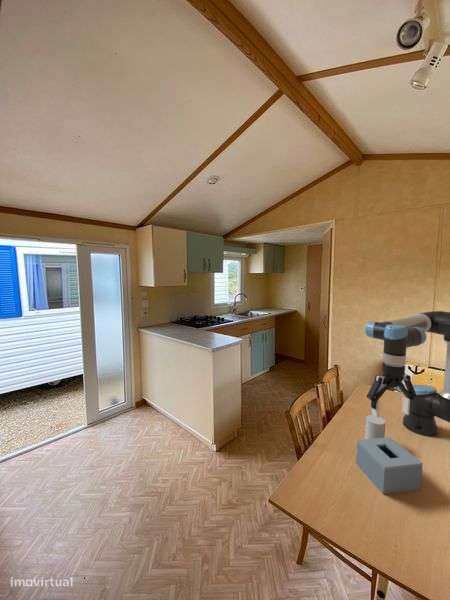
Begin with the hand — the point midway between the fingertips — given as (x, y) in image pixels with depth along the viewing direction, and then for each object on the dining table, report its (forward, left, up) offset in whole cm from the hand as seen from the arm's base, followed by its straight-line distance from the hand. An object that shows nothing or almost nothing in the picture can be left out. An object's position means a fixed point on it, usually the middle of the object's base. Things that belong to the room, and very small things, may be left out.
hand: (390, 414), depth 104 cm
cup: (-10, -20, -27) cm, 35 cm away
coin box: (0, 0, -27) cm, 27 cm away
